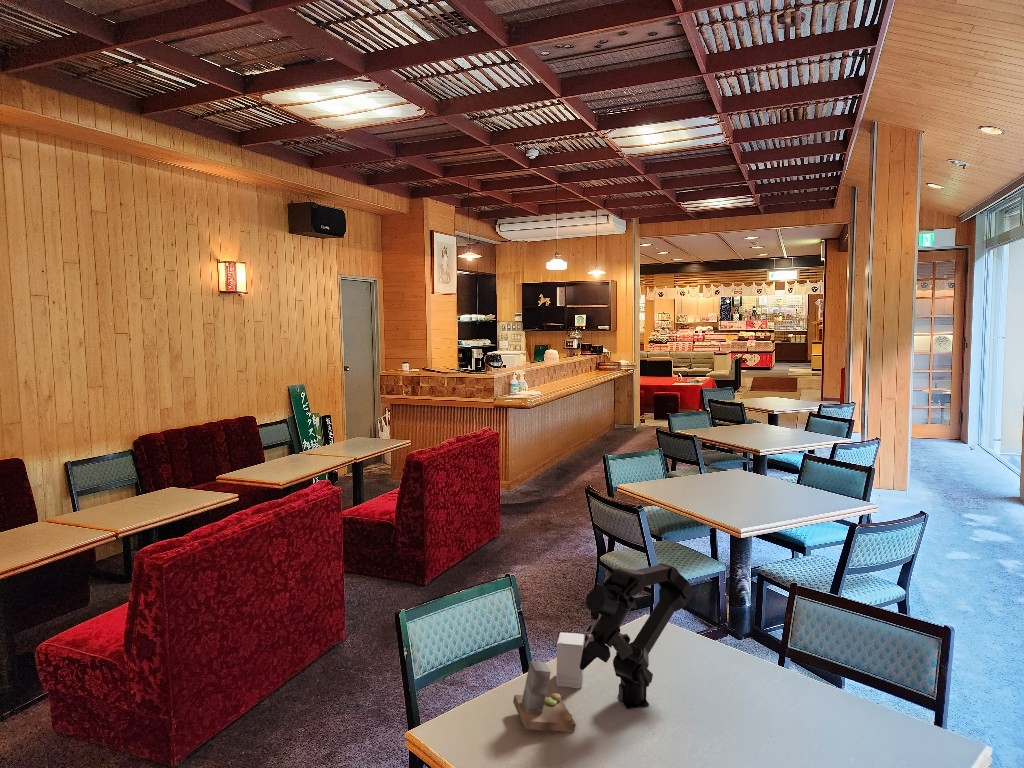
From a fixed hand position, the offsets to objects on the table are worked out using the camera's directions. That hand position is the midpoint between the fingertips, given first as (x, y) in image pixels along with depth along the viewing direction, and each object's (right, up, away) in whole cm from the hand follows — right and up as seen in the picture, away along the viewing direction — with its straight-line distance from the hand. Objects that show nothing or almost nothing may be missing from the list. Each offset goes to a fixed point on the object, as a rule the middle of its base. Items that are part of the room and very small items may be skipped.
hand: (581, 668), depth 171 cm
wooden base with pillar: (-10, -11, -2) cm, 15 cm away
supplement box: (-1, -11, +18) cm, 21 cm away
